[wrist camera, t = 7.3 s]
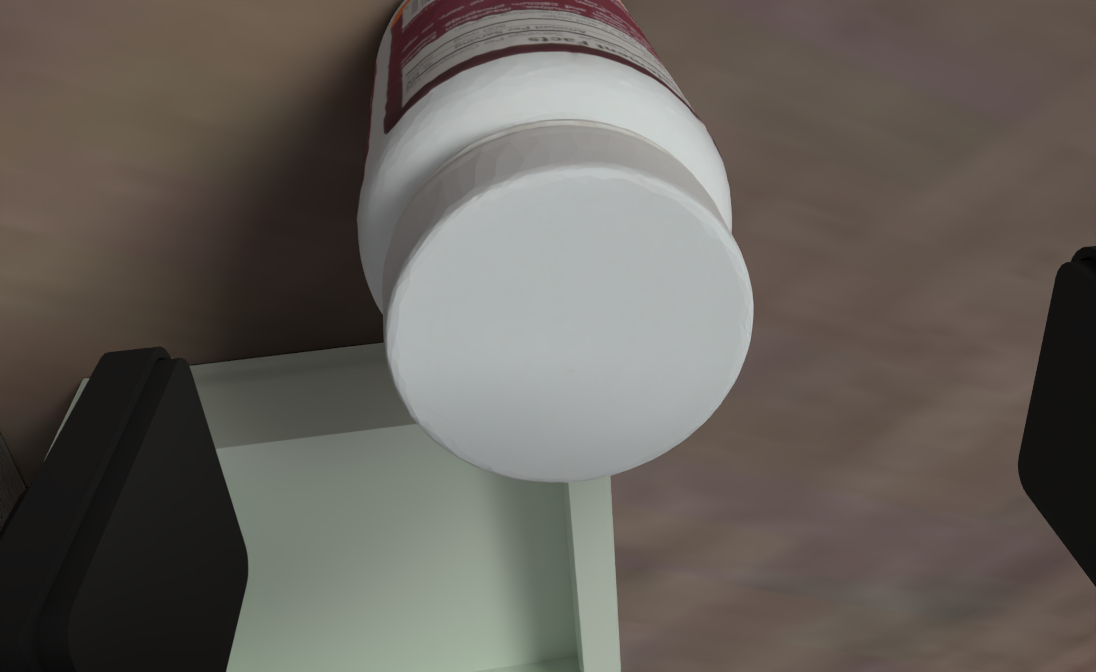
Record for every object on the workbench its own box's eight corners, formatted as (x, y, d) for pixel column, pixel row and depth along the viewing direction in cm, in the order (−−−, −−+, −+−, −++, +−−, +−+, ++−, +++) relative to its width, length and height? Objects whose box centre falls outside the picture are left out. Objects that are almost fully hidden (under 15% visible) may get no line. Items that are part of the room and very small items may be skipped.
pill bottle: (576, 240, 20) (664, 551, 13) (337, 153, 18) (286, 451, 11) (694, 10, 18) (878, 231, 10) (434, -110, 16) (446, 54, 9)
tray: (82, 378, 20) (39, 470, 18) (585, 318, 21) (606, 400, 18) (212, 701, 26) (191, 804, 23) (605, 648, 26) (624, 743, 24)
